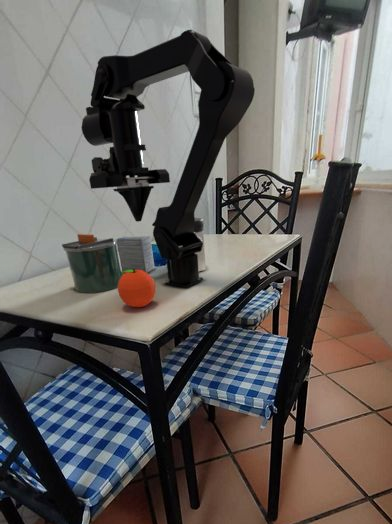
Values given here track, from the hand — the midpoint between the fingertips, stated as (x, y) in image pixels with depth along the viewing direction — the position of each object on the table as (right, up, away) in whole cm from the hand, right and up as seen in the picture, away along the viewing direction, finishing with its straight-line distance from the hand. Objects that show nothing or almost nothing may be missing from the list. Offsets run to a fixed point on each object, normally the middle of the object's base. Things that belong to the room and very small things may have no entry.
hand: (138, 221), depth 72 cm
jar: (+12, -9, +10) cm, 18 cm away
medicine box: (-2, -8, +13) cm, 15 cm away
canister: (-10, -14, +3) cm, 17 cm away
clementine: (+2, -21, -12) cm, 24 cm away
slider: (-12, -7, -4) cm, 14 cm away
